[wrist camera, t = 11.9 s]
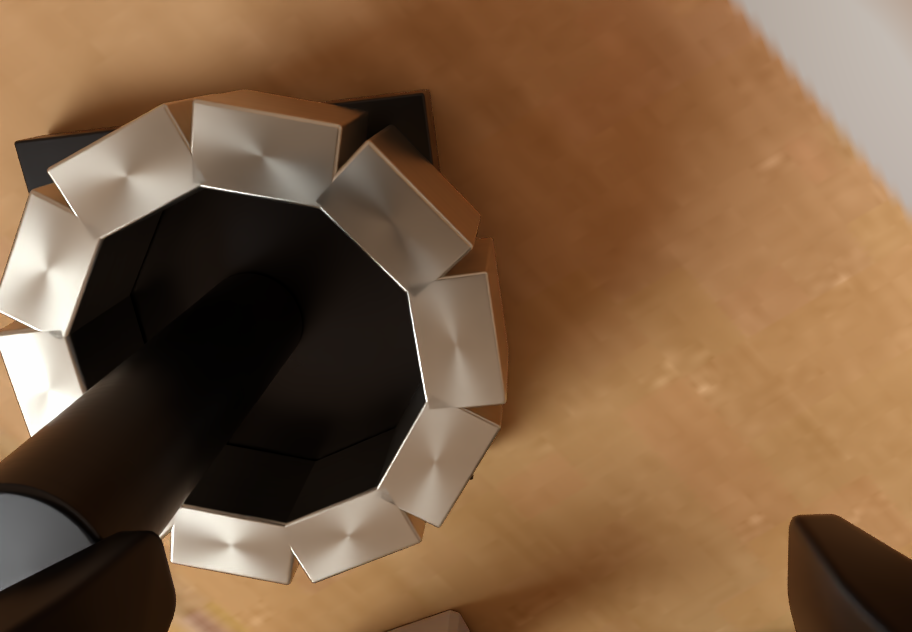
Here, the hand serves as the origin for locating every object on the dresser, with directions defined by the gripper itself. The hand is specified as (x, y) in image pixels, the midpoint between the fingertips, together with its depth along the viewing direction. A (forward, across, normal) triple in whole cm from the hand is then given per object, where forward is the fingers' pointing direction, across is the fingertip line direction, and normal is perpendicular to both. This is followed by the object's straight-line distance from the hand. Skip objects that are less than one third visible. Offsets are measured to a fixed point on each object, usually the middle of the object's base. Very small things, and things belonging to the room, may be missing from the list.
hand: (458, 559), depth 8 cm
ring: (+8, +4, 0) cm, 9 cm away
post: (+9, +5, 0) cm, 10 cm away
